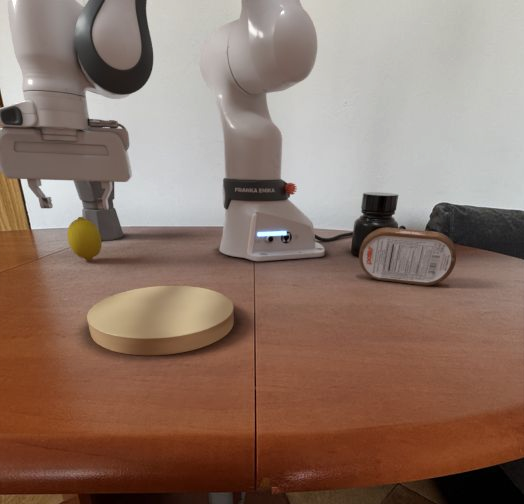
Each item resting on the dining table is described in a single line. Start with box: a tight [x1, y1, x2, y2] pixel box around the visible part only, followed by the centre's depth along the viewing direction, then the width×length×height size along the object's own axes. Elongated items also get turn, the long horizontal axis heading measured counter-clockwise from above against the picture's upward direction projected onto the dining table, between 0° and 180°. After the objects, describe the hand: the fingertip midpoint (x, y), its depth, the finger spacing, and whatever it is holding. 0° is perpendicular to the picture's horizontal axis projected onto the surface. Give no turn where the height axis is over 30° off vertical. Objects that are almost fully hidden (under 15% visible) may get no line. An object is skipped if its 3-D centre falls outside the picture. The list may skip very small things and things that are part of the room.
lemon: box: [67, 216, 102, 262], centre depth 69 cm, size 6×6×8 cm
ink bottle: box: [350, 191, 399, 257], centre depth 78 cm, size 10×9×12 cm
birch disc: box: [86, 285, 235, 356], centre depth 46 cm, size 17×17×2 cm
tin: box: [358, 227, 457, 286], centre depth 61 cm, size 15×3×8 cm, turn 71°
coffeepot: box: [73, 181, 124, 242], centre depth 88 cm, size 15×9×18 cm, turn 12°
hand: (75, 208), depth 67 cm, fingers open, 8 cm apart
